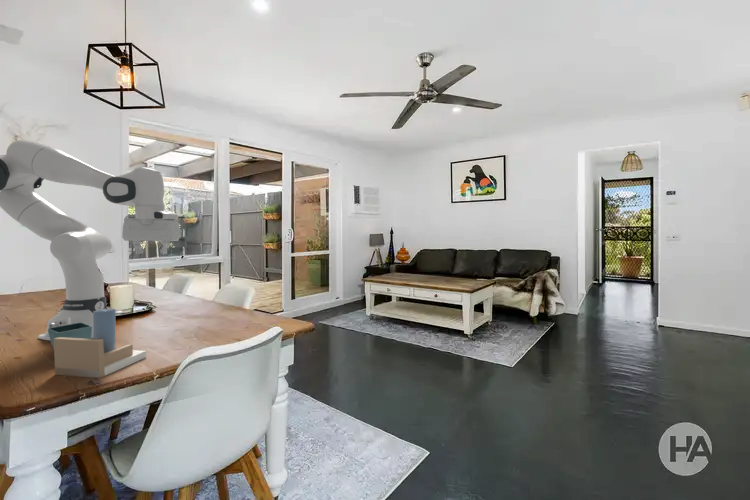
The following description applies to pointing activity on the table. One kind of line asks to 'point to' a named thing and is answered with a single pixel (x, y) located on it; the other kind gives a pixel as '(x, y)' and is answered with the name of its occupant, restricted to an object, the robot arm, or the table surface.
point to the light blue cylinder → (105, 328)
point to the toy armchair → (91, 357)
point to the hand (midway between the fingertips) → (151, 254)
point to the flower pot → (70, 331)
